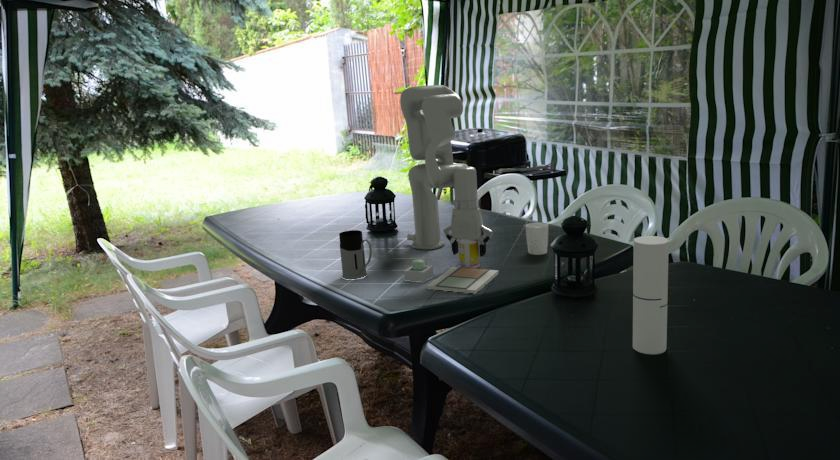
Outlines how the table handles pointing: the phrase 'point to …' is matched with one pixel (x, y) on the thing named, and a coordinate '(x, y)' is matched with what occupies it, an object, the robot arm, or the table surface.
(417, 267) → the button
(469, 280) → the picture board
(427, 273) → the button box
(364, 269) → the grey and black mug
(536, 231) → the white cup
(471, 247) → the supplement bottle
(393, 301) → the table surface
